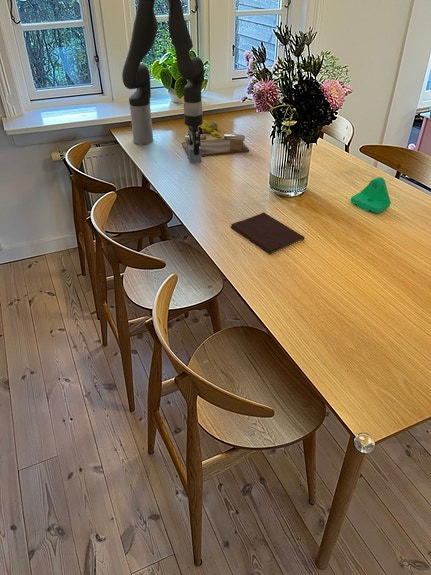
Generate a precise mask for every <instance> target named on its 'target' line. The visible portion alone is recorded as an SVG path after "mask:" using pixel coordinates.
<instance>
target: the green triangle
mask: <svg viewBox="0 0 431 575" xmlns="http://www.w3.org/2000/svg"><path fill="white" fill-rule="evenodd" d="M350 202H351V203H352V204H355V205H356V207H357V208H358V207H359V208H358V209H360V208H361V210H363V211H365V210H366V211H365V212H367V211H369V212H370V210H371V212H373V213H376V214H379V213H382V212H383V211H385V210H386V209H388V208H390V207H391V203H392V202H391V199H390V195H389V192H388V188H387V184H386V181H385V179H384V178H383V177H381V176H378V177H376V178H373V179H371V180H370V181H369V183H368V184H367V185H366V186H365V187H364V188H363V189H362V190H360V192H358V193H356V194H354V195H352V196H351V197H350Z"/></svg>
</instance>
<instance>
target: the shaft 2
mask: <svg viewBox="0 0 431 575" xmlns="http://www.w3.org/2000/svg"><path fill="white" fill-rule="evenodd" d="M223 136H224V137H223V139H224V140H230V138H231V137H235V138H242V141H243V142H245V139H246V135H244V134H239V135H232V134H229V133H228V134H227V133H225V134H224V135H223Z"/></svg>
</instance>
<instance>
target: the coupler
mask: <svg viewBox="0 0 431 575" xmlns="http://www.w3.org/2000/svg"><path fill="white" fill-rule="evenodd" d="M187 148H188V156H187V160H188V162H189V164H195V163H194V162H198V163H202V156H201V147H200V146H199V155H194V146H193V145H187Z"/></svg>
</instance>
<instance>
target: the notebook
mask: <svg viewBox="0 0 431 575" xmlns="http://www.w3.org/2000/svg"><path fill="white" fill-rule="evenodd" d="M230 228H231V229H232V230H233V231H235V232H236V233H237V234H239V235H240V236H242V237H244V239H246V240H248V241H249V242H251V243H252V244H254V245H255V246H257V247H258V248H260V250H262V251H264V252H265V253H267V254H268V255H273V254H276V253H277V252H279V251H281V249H282V250H284V249H286V248H288V247H290V245H291V246H292V244H293V245H294V243H295V244H297V243H299V242H298V241H300V242H302V241H304V240H305V236H304V235H303V234H300V233H298V231H295V230H294V229H292V228H290V227H289V226H287V225H286V224H284V223H283V222H281V221H279V220H278V219H276V218H274V217H272V216H271V215H270V214H267V213H266V212H262V213H258V214H256V215H254V216H252V217H248V218H246V219H244V220H243V219H242V220H239V221H236V222H234V223H231V225H230ZM303 239H304V240H303ZM301 240H302V241H301ZM296 242H297V243H296ZM272 253H273V254H272Z"/></svg>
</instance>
